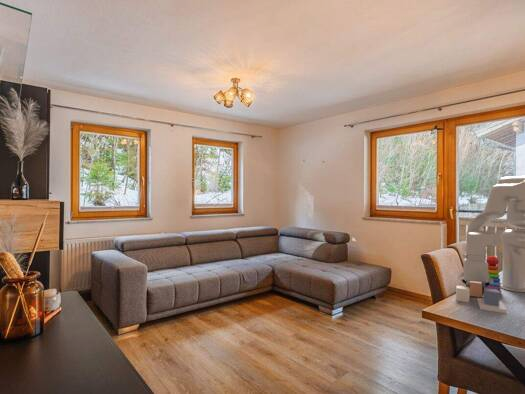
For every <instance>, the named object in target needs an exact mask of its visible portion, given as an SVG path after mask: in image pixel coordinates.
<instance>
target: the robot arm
mask: <svg viewBox="0 0 525 394" xmlns="http://www.w3.org/2000/svg"><path fill="white" fill-rule="evenodd" d="M505 214H506V224H507V225H508V226H510V227H514V228H521V229H513V228H512V229H510V228H509V229H505V230H504V231H503V232H502V233H501V235H499V234H498V233H496V232H494V231H487V230H481V228H482V226H483V225H485V224H486V223H488V222H491V221H493V220H497V219H500V218H502V217H504V216H505ZM523 229H525V175H512V176H509V175H508V176H503V177H501V178H500V179H499V180H498V184H495V185H493V186H492V187H491V189H490V191H489V195H488V198H487V200H486V205H485V207H484V209H483V211H481V212H480V213H478V214H477V215H476V216H475V217H474V218H473V219H472V220H471V221H470V223H469V224H468V228H467V231H466V237H465V238H466V252H465V254H463V255H462V257H463V258H465V259H464V261H463V269H462V270H463V271H462V272H461V273H460V274H459V275H458V276H457V279H459V280H460V281H461V282H462V283H463V284H464V285H465V287H469V290H470V286H469V282H470V281H476V282H481V283H482V297H484V288H486V287H487V286H488V285H490V284H491V283H493V282H494V281H493V279H492V278H491V277H490V276H489V275H488V265H489V264H488V263H487V261H486V248H495V247H498V246H499V245H500V243H501V244H502V280H501V281H502V282H500V283H501V285H500V287H501V289H502V290H507V291H511V292H517V293H525V252H524V250H525V230H523ZM488 280H489V281H488ZM485 282H486V283H485ZM469 294H470V293H469Z"/></svg>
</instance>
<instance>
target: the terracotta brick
mask: <svg viewBox="0 0 525 394" xmlns="http://www.w3.org/2000/svg"><path fill="white" fill-rule="evenodd" d="M469 286H470V294H469V297H470V296H471V297H477V298H483V296H482V283H481V282H476V281H470V282H469Z"/></svg>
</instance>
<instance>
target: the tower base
mask: <svg viewBox="0 0 525 394" xmlns="http://www.w3.org/2000/svg"><path fill="white" fill-rule="evenodd" d="M476 300H477V304H478V306H479V309H480V310H481V311H482V310H484V311H488V312H496V313H500V314H507V309H506V307H505V305H504V303H503V301H502V300H500V294H499V292H498V290H496V289H489V288H484V294H483V297H477V298H476Z"/></svg>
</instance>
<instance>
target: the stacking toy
mask: <svg viewBox="0 0 525 394" xmlns="http://www.w3.org/2000/svg"><path fill="white" fill-rule="evenodd" d="M485 261H487V264H488V275H489V276H490V277H491V278H492V279H493V281H494V282H493V283H491V284H490V285H488V286H487V287H486V288H489V289H496V290H498V292H499V295H501V294H502V290H501V289H502V288H501V287H500V285H501V283H502V282H500V281H501V278H500V274H499V266H498V264H499V262H500V260H499V259H498V257H497V256H495V255H489V256H487V257H486V258H485ZM488 281H489V280H488ZM485 283H486V282H485Z"/></svg>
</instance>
